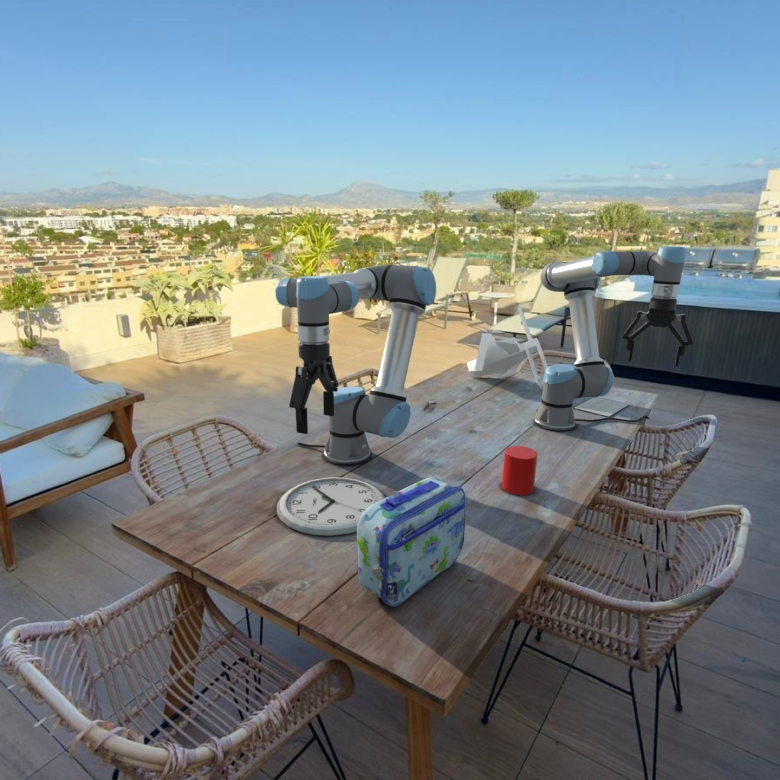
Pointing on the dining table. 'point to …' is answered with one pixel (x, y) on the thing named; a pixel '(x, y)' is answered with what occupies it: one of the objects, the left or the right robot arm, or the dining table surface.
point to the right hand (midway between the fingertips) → (652, 363)
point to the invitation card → (601, 406)
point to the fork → (430, 402)
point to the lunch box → (410, 539)
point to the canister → (519, 470)
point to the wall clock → (327, 505)
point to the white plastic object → (505, 354)
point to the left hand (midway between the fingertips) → (316, 423)
